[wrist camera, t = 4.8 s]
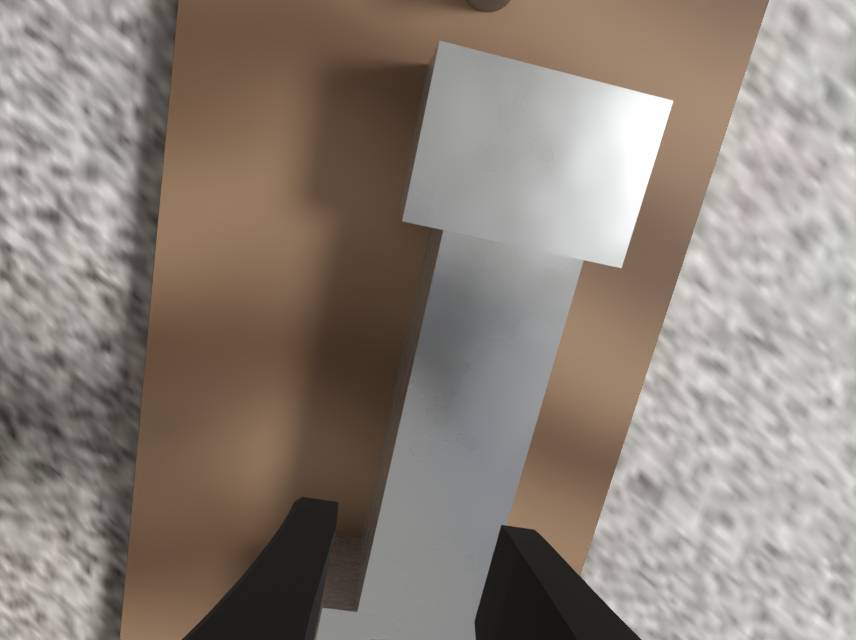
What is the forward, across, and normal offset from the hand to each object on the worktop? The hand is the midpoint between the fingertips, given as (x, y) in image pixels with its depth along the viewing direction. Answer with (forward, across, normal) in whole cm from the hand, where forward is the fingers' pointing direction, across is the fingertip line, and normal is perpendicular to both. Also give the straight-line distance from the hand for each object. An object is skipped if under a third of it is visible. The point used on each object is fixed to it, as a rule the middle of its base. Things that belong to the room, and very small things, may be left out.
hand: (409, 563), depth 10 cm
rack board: (+8, 0, 0) cm, 8 cm away
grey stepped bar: (+7, -1, 0) cm, 7 cm away
